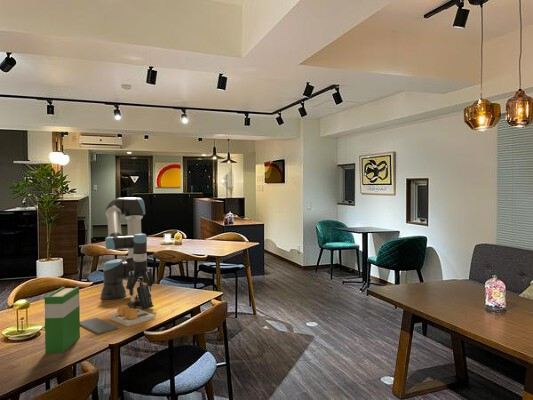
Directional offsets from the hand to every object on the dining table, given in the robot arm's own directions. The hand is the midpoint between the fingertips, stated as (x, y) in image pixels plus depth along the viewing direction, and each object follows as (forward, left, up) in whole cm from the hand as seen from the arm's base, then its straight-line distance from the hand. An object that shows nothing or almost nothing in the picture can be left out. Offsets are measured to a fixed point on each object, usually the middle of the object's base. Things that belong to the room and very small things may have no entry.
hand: (140, 298), depth 230 cm
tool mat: (+10, -31, -6) cm, 33 cm away
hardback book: (+21, -52, -6) cm, 56 cm away
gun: (0, 0, -6) cm, 6 cm away
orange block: (+17, -16, -3) cm, 24 cm away
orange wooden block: (+9, -16, -3) cm, 19 cm away
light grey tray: (+13, -13, -6) cm, 19 cm away
